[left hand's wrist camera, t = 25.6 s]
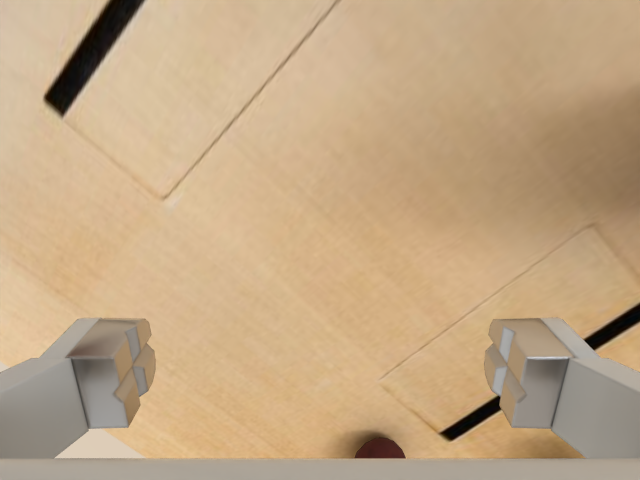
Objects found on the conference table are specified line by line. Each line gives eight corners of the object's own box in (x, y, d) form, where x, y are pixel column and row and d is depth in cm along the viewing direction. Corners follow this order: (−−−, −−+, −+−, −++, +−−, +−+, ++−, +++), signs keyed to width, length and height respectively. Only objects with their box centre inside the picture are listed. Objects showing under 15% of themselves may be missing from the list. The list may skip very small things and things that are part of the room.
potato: (344, 460, 62) (346, 506, 55) (362, 420, 59) (367, 464, 53) (391, 471, 63) (400, 518, 56) (411, 433, 60) (423, 477, 53)
